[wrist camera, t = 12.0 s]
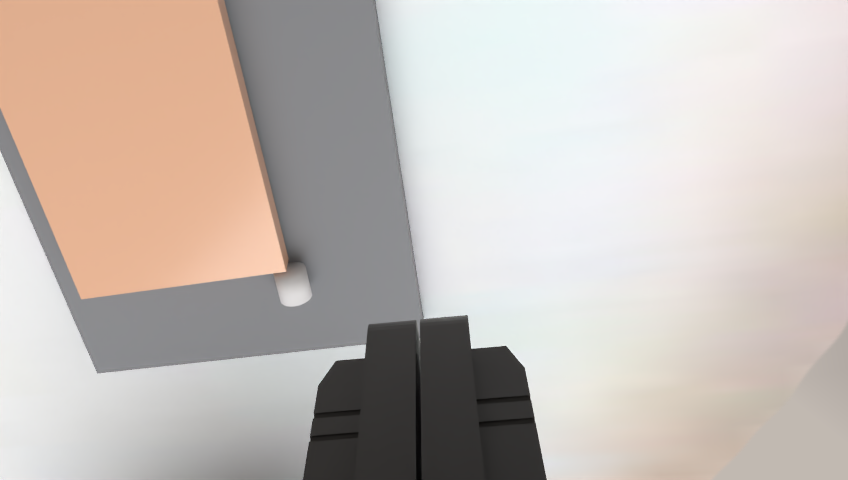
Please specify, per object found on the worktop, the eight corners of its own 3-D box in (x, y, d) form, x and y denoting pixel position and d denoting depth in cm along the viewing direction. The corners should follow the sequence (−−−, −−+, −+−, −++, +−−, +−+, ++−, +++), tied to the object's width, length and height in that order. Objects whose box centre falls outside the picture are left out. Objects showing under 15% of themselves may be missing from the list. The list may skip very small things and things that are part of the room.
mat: (-112, -164, 29) (-167, -163, 27) (339, -231, 28) (332, -236, 26) (107, 356, 42) (86, 393, 39) (423, 321, 41) (424, 357, 38)
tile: (209, -32, 29) (216, -38, 30) (-44, 4, 29) (-26, -4, 30) (286, 271, 36) (289, 255, 37) (81, 299, 36) (91, 282, 37)
